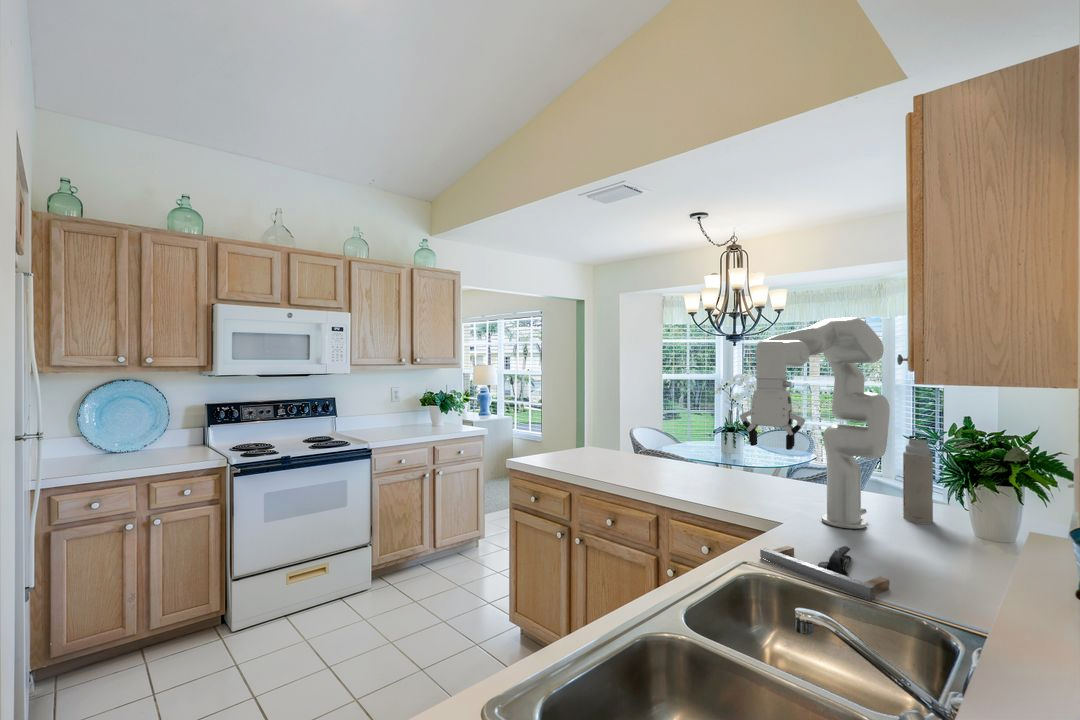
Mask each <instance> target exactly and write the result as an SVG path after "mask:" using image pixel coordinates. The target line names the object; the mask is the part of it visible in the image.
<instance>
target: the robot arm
mask: <svg viewBox="0 0 1080 720" xmlns="http://www.w3.org/2000/svg"><path fill="white" fill-rule="evenodd" d="M821 353H823V355H824V358H825V359H826V361H827V362H828V364H829V366H830V367H831V369H832V373H833V376H834V385H833V395H832V404H831V412H832V415H833V416H834V418H835V419H837V420H840V421H846V422H854V423H855V422H856V423H867V426H860V425H858V426H857V425H851V424H850V425H849V424H832V425H829V426H827V427H826V428H825V430H824V432H823V438H822V439H823V446H824V450H825V457H826V514H823V515H822V516H821V521H822V522H823V523H824V524H827V525H829V526H832V527H838V528H842V529H843V528H844V529H852V530H853V529H857V530H859V529H864V528H866V527H867V525H868V524H867V521H866V520H865V519H863V518H862V515H865V514H867V513H868V512H867V508H864V507H862V486H861V485H862V481H861V480H862V478H861V477H862V473H861V472H862V471H861V467H860V464H859V463H858V461H857V460H856V458H855V457H858V458H864V459H865V458H866V459H875V460H876V459H881V458H882V457H884V455H885V454H886V449H887V445H888V437H889V424H890V423H889V422H890V412H891V411H890V404H889V401H888V398H887V397H886V396H885V395H883V394H882V393H877V392H865V374H864V373H863V372H862V370H861V369H860V368H859V367H858V365H857V364H873V363H877V362H878V361H880V360H881V359H882V358H883V355H884V344H883V342H882V340H881V338H880V337H879V336H878V334H877V332H875V331H874V330H873V329H872V327H871V326H870V325H869V324H868V323H867V322H866V321H864V320H862V319H861V318H859V317H841V318H840V317H838V318H837V317H836V318H827V319H823V320H821V321H819V322H816V323H814V324H812V325H810V326H807V327H804V328H802V329H797V330H793V331H790V332H784V333H781V334H777V335H774V336H770V337H769V338H766V339H764V340H761V341H759V342H758V343H757V344H756V348H755V351H754V355H755V356H754V357H755V359H756V361H755V363H756V370H755V371H756V374H755V375H756V378H755V379H756V381H755V382H756V383H755V385H756V388H755V389H754V390H753V394H752V400H751V406H750V407H751V409H750V410H748V411H745V412H743V413H741V414H739V418H740V420H741V422H742V425H743V426H744V428H746V430H747V431H748V441H749V445H750V447H751V446H753V447H754V446H757V444H758V431H757V428H758V427H759V426H761V427H762V426H763V427H773V428H783V429H784V430H785V432H786V436H785V437H786V438H785V449H786V450H787V451H790V450H792V449H793V448H794V447H795V442H796V441H795V440H796V439H795V435H796V434H797V433H798V432H799V431H800V430H801V429H802V427H803V425H804V424H805V422H806V418H804V417H802V416H800V415H798V414H796V413H795V412H793V404H792V397H791V393H790V390H787V389H788V387H792V381H789V380H788V379H787V368H798V367H802V366H803V365H805V364H806V363H807V362H808V360H809V359H810V356H811V357H812V356H816V355H818V354H821ZM748 417H750V421H751V422H750V421H749V420H748ZM794 420H795V421H796V424H795V426H794V427H793V424H794Z"/></svg>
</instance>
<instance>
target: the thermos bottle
mask: <svg viewBox="0 0 1080 720" xmlns="http://www.w3.org/2000/svg"><path fill="white" fill-rule="evenodd" d="M914 437H926V438H922V439H924V440H916V439H911V438H914ZM908 438H909V439H908V444H906V445H905V447H904V449H905V450H904V451H903V452H902V466H903V467H902V468H903V469H902V471H903V472H902V474H903V475H902V479H903V480H902V481H903V482H902V483H903V487H902V491H903V492H902V493H903V494H902V497H903V498H902V501H903V503H902V506H903V507H902V508H903V509H902V510H903V513H902V514H903V519H904V521H905V520H906V521H908V522H912V523H917V524H922V525H923V524H924V525H929V524H930V525H931V524H933V523H934V500H933V491H934V490H933V489H934V485H933V483H934V478H933V477H934V475H933V474H934V471H933V469H934V462H933V458H934V456H933V453H931V447H930V446H928V441H927V440H928V437H927V436H923V435H909V436H908Z"/></svg>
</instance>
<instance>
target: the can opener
mask: <svg viewBox="0 0 1080 720" xmlns="http://www.w3.org/2000/svg"><path fill="white" fill-rule="evenodd" d="M850 550H851V548H850V546H847V545H843V546H840V547H838V548H836V549H834V551H833V552H832V554H831V555H830V557H829V558H828V561H820V562H819V563H818V564H817V566H818V567H821V568H824V569H827V570H830V571H833V572H835V573H838V574H841V575H844V576H848V575H849V572H848V567H847V566H848V565H849V564H850V563H851V561H852V559H853V558H852V557H851V556H850V555H848V554H847V553H848V552H849V551H850Z"/></svg>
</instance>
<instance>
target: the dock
mask: <svg viewBox="0 0 1080 720" xmlns="http://www.w3.org/2000/svg"><path fill="white" fill-rule="evenodd" d="M759 549H760V553H759V554H760V557H761V558H764V559H766V560H768V561H770V562H772V563H771V564H773V563H774V564H773V565H775V564H777V565H776V566H778V565H779V566H778V567H780V566H781V568H783V567H784V568H783V569H786V570H788V569H789V570H788V571H791V572H793V573H796V574H798V575H801V576H804V577H806V578H809V579H811V580H814V581H817V582H819V583H822V584H824V585H827V586H829V587H832V588H835V589H836V590H837V589H838V590H839V591H842V592H845V593H847V594H850V595H853V596H856V597H858V598H860V599H863V600H866V601H868V602H871V601H875V600H876V596H877V595H880V594H882V593H885V592H887V591H889V590H890V579H889V578H887V577H883V576H877V577H874V578H873V579H870V580H867V581H865V582H863V581H861V580H858V579H855V578H852V577H849V576H848V575H846V576H844V575H841V574H838V573H835V572H833V571H830V570H827V569H824V568H821V567H818V565H815V564H814V563H813V564H811V563H809V562H806V561H805V560H800V559H797V558H795V557H793V556H791V555H794V556H795V548H794V547H793V546H790V545H785V546H781V547H777V548H775V549H769V548H767V547H763V548H759ZM790 556H791V557H790ZM768 561H767V562H768ZM770 562H769V563H770Z"/></svg>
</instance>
